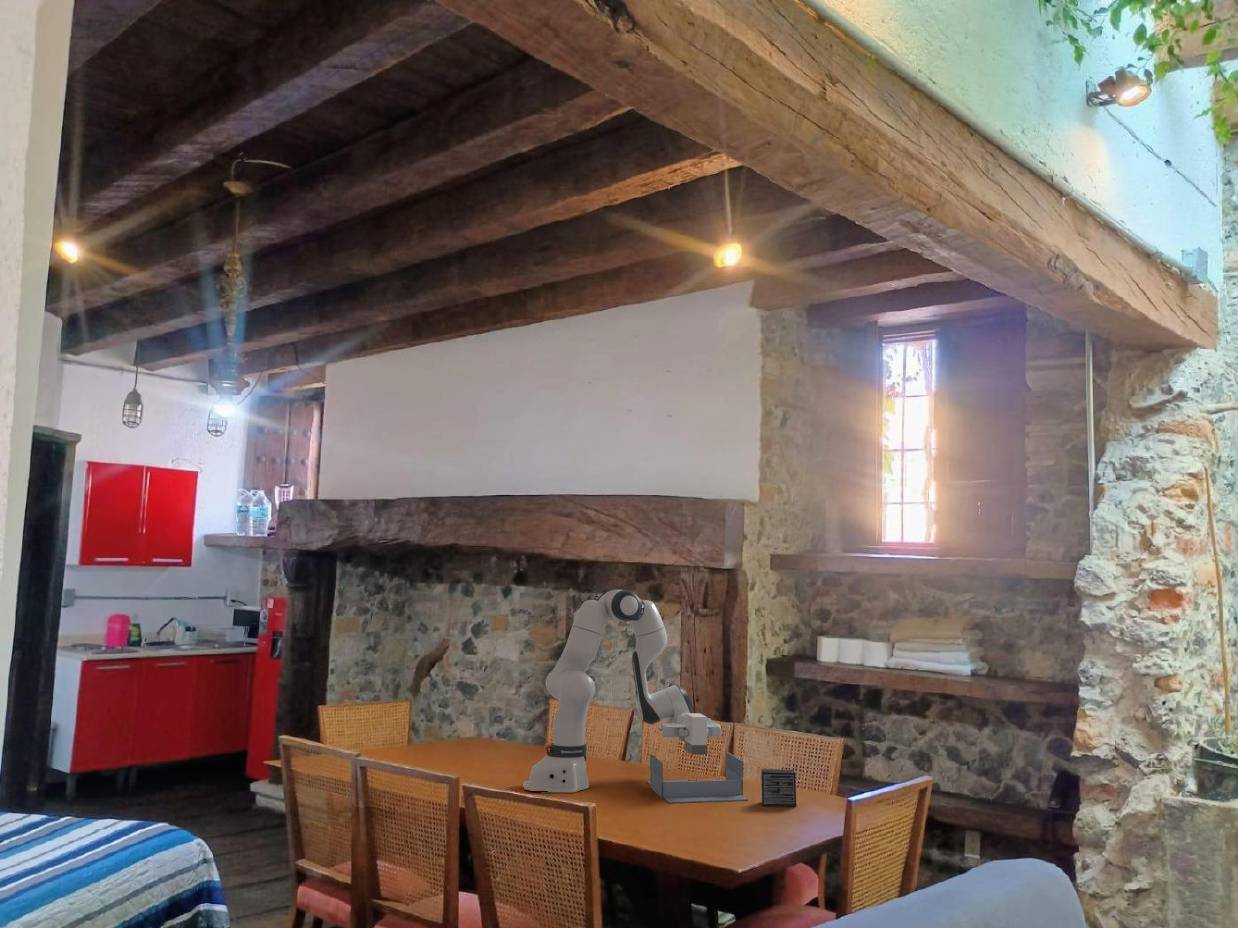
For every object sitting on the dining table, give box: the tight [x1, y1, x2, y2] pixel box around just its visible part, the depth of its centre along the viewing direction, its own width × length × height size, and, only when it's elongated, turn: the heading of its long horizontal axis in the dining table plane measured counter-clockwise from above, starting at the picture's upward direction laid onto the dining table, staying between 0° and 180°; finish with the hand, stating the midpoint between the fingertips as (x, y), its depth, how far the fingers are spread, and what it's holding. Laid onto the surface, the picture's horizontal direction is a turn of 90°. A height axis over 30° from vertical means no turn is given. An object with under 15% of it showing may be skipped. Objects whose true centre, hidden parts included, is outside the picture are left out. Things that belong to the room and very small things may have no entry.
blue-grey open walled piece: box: [646, 751, 749, 804], centre depth 322 cm, size 28×32×11 cm
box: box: [684, 712, 708, 756], centre depth 322 cm, size 5×9×12 cm, turn 11°
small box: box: [760, 768, 798, 808], centre depth 303 cm, size 11×6×10 cm, turn 84°
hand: (696, 733), depth 321 cm, fingers closed on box, 5 cm apart
